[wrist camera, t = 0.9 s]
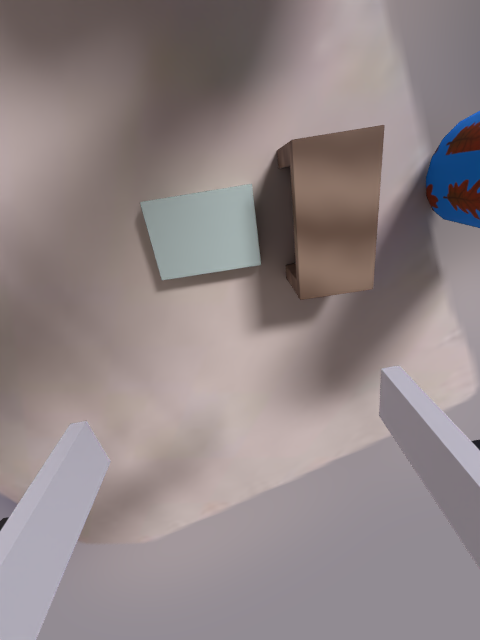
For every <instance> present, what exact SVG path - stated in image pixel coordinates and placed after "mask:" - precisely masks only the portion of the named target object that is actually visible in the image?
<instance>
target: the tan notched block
mask: <svg viewBox="0 0 480 640" xmlns="http://www.w3.org/2000/svg"><path fill="white" fill-rule="evenodd" d="M383 138H384V125H380V126H374V127H368V128H362V129H356V130H350V131H343V132H337V133H331V134H325V135H319V136H313V137H307V138H300V139H294V140H291V141H290V142H288V143H287V144H285V145H284V146H283V147H281V148H280V149H278V150H277V155H278V169H279V168H286V167H290V169H291V187H292V205H293V223H294V240H295V258H296V264H290V265H286V278H287V280H288V281H289V283H290V285H291V286H292V288H293V289H294V291H295V292H296V294H297V295H298V297H299V298H300V300H303V299H310V298H317V297H324V296H330V295H337V294H344V293H350V292H357V291H364V290H371V289H373V283H374V268H375V254H376V239H377V225H378V210H379V196H380V182H381V167H382V153H383Z"/></svg>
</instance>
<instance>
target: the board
mask: <svg viewBox="0 0 480 640" xmlns="http://www.w3.org/2000/svg"><path fill="white" fill-rule="evenodd" d="M140 204H141V208H142V212H143V215H144V219H145V222H146V226H147V229H148V233H149V236H150V240H151V244H152V247H153V251H154V254H155V258H156V261H157V265H158V268H159V272H160V276H161V279H162V280H168V279H174V278H180V277H187V276H193V275H200V274H206V273H212V272H219V271H225V270H231V269H238V268H244V267H251V266H257V265H261V260H260V251H259V242H258V234H257V225H256V216H255V208H254V199H253V190H252V184H247V185H241V186H235V187H229V188H223V189H217V190H211V191H205V192H198V193H192V194H186V195H180V196H174V197H168V198H162V199H156V200H149V201H144V202H140Z"/></svg>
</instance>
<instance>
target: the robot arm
mask: <svg viewBox="0 0 480 640" xmlns="http://www.w3.org/2000/svg"><path fill="white" fill-rule="evenodd" d="M379 416H380V418H381V419H382V421H383V422H384V424H385V425H386V427H387V429H388V430H389V432H390V433H391V435H392V436H393V438H394V439H395V441H396V442H397V444H398V445H399V447H400V448H401V450H402V451H403V453H404V454H405V456H406V457H407V459H408V461H409V462H410V464H411V465H412V467H413V468H414V469H415V471H416V473H417V474H418V476H419V477H420V479H421V480H422V482H423V483H424V485H425V486H426V488H427V490H428V491H429V493H430V494H431V496H432V497H433V499H434V500H435V502H436V503H437V505H438V506H439V508H440V509H441V511H442V512H443V514H444V515H445V517H446V518H447V520H448V522H449V523H450V525H451V526H452V528H453V529H454V531H455V532H456V534H457V535H458V537H459V538H460V540H461V541H462V543H463V544H464V545H465V547H466V549H467V551H468V552H469V554H470V555H471V556H472V558H473V560H474V561H475V563H476V564H477V566H478V567H479V569H480V440H475V441H470V440H469V439H468V438H467V436H466V435H465V434H464V433H463V432H462V431H461V430H460V429H459V428H458V427H457V426H456V425H455V424H454V423H453V422H452V421H451V420H450V418H449V417H447V415H446V414H445V413H444V412H443V411H442V410H441V409H440V408H439V407H438V406H437V405H436V404H435V403H434V402H433V400H432V399H431V398H430V397H429V396H428V395H427V394H426V393H425V392H424V391H423V390H422V389H421V388H420V387H419V386H418V385H417V384H416V383H415V382H414V380H413V379H412V378H411V377H410V376H409V375H408V374H407V373H406V372H405V371H404V370H403V369H402V368H401V367H400V366H393V367H388V368H382V369H381V384H380V408H379ZM110 462H111V461H110V459H109V458H108V456H107V454H106V453H105V451H104V449H103V448H102V446H101V444H100V443H99V441H98V439H97V437H96V436H95V434H94V432H93V431H92V429H91V427H90V426H89V424H88V422H87V421H83V422H78V423H72V424H70V425H69V427H68V428H67V430H66V431H65V433H64V434H63V436H62V437H61V439H60V440H59V442H58V444H57V445H56V447H55V448H54V450H53V451H52V453H51V454H50V456H49V457H48V459H47V460H46V462H45V463H44V465H43V466H42V468H41V470H40V471H39V473H38V474H37V476H36V477H35V479H34V480H33V482H32V483H31V485H30V486H29V488H28V489H27V491H26V493H25V494H24V496H23V497H22V499H21V500H20V502H19V503H18V505H17V506H16V508H15V509H14V511H13V512H12V514H11V516H10V517H8V518H3V519H2V520H1V521H0V640H36V638H37V636H38V633H39V631H40V629H41V626H42V624H43V621H44V619H45V617H46V614H47V612H48V610H49V607H50V605H51V603H52V600H53V598H54V595H55V593H56V590H57V588H58V586H59V584H60V581H61V579H62V576H63V574H64V571H65V569H66V567H67V564H68V562H69V560H70V557H71V555H72V553H73V550H74V548H75V545H76V543H77V541H78V538H79V536H80V533H81V531H82V529H83V526H84V524H85V522H86V519H87V517H88V514H89V512H90V510H91V507H92V505H93V502H94V500H95V498H96V495H97V493H98V491H99V488H100V486H101V483H102V481H103V479H104V476H105V474H106V471H107V469H108V467H109V464H110Z"/></svg>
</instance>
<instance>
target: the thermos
mask: <svg viewBox="0 0 480 640" xmlns="http://www.w3.org/2000/svg"><path fill="white" fill-rule="evenodd" d="M426 196H427V198H428V200H429V203H430V205H431V207H432V210H433V211H435V212H436V213H437V214H438V215H439V216H441V217H442V218H443V219H445V220H449V221H454V222H458V223H461V224H465V225H470V226H474V227H478V228H480V111H479V112H477V113H475V114H473V115H471V116H469V117H468V118H466V119H464V120H462V121H460V122H459V123H458V124H457V125H456V126H455V127H454V128H453V129H452V130H451V131H450V132H449V133H448V134H447V135H446V136H445V137H444V138H443V140H442V141H441V143H440V145H439V147H438V148H437V150H436V151H435V153H434V155H433V156H432V158H431V162H430V165H429V169H428V172H427V176H426Z"/></svg>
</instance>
